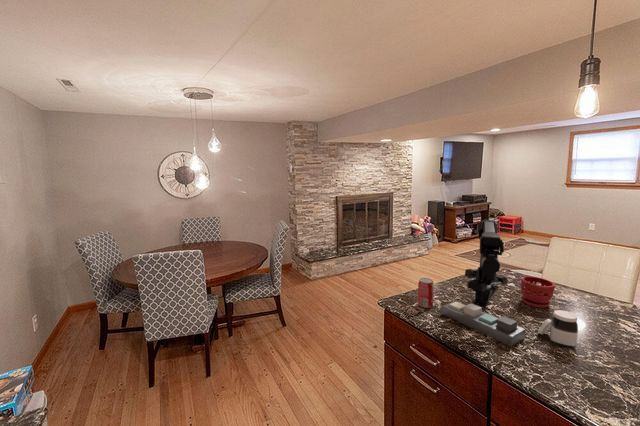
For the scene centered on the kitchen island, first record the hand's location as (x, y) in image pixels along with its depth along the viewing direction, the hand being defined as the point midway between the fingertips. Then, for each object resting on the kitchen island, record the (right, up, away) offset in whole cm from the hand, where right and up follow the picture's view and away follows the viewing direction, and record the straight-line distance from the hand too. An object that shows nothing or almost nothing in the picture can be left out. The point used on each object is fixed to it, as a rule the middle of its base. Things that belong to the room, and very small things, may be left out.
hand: (486, 302), depth 122 cm
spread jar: (+23, -13, -7) cm, 27 cm away
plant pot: (+38, -8, +24) cm, 45 cm away
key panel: (-1, -11, +4) cm, 12 cm away
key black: (+5, -10, -5) cm, 12 cm away
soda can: (-17, -9, +23) cm, 30 cm away
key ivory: (-6, -9, +13) cm, 17 cm away
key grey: (-2, -8, +6) cm, 11 cm away
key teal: (+1, -11, +1) cm, 11 cm away
